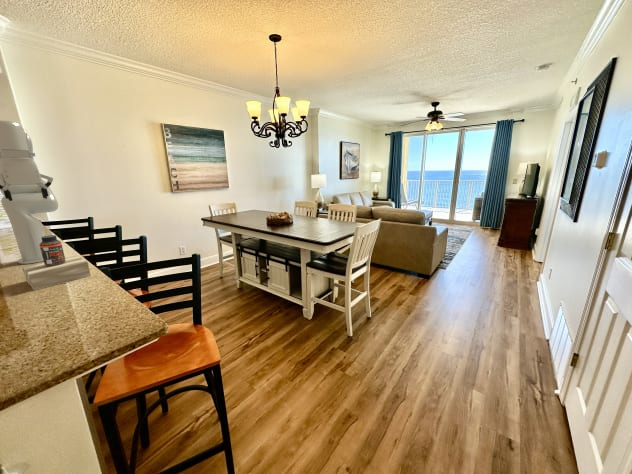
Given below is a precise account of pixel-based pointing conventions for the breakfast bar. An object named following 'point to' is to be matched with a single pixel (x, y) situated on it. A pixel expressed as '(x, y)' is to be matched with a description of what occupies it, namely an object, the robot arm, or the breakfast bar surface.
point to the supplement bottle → (52, 251)
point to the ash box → (56, 272)
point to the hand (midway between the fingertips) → (28, 199)
